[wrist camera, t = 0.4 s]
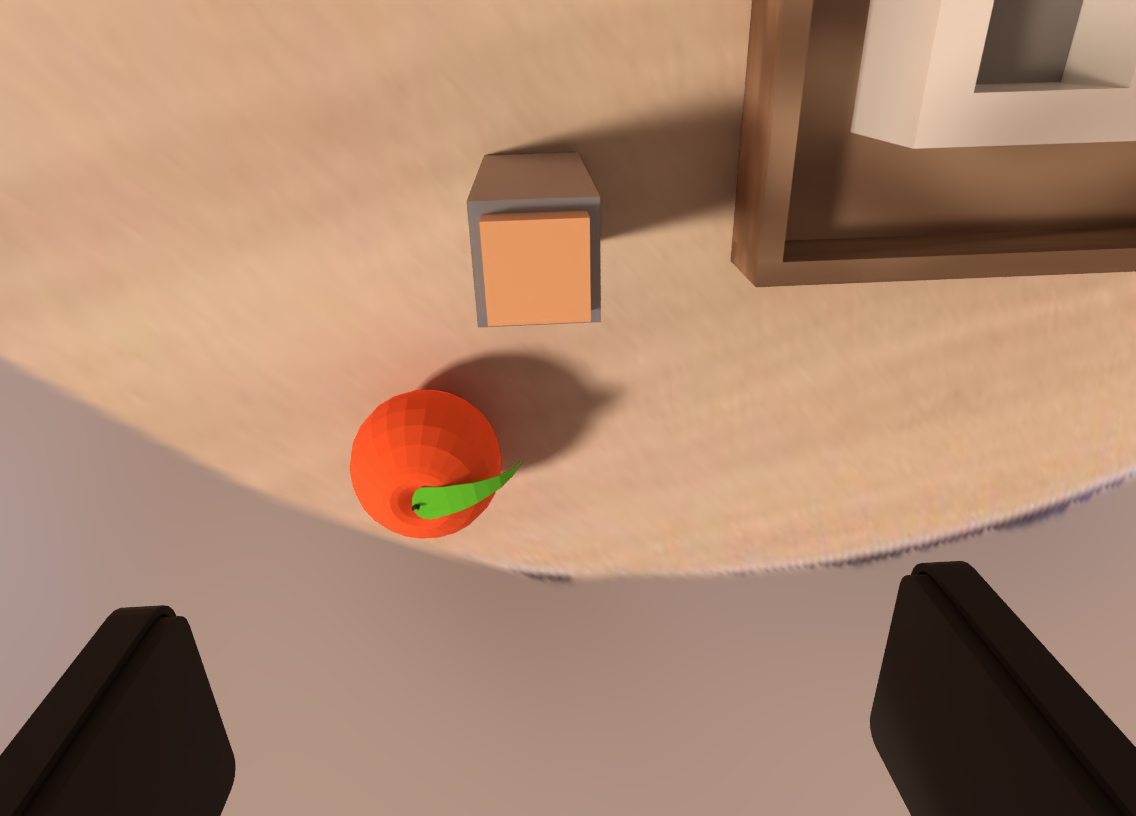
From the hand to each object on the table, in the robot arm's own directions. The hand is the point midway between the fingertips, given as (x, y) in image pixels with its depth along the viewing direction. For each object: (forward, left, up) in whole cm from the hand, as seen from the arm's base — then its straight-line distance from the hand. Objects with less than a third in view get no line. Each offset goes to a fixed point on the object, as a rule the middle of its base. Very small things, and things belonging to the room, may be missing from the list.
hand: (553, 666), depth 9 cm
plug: (-1, 0, -25) cm, 25 cm away
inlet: (-8, +18, -25) cm, 32 cm away
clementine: (+10, -5, -25) cm, 27 cm away
